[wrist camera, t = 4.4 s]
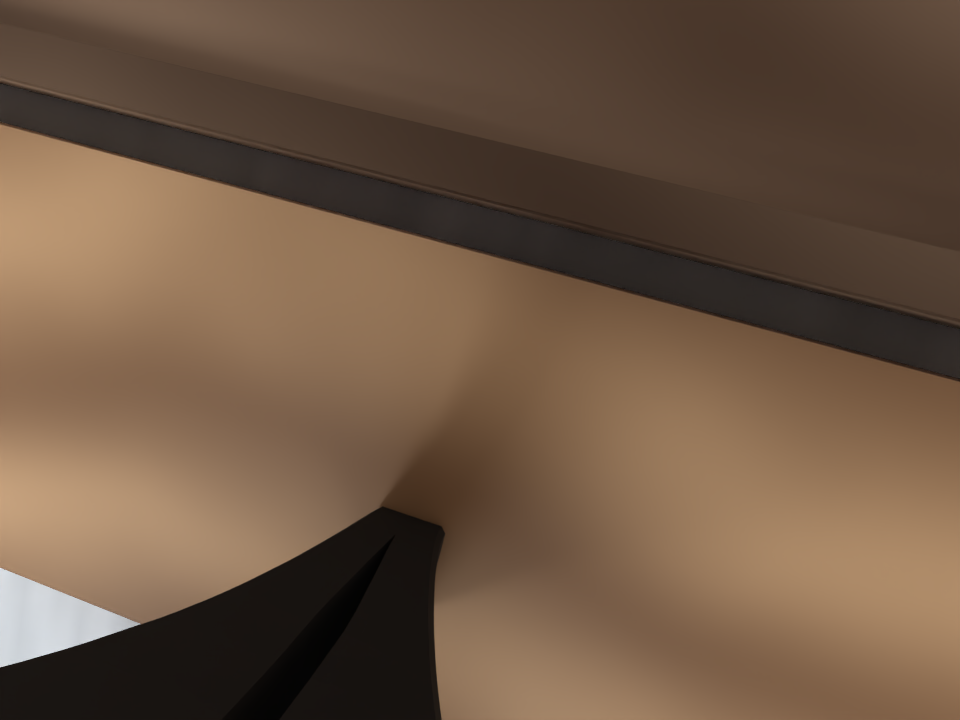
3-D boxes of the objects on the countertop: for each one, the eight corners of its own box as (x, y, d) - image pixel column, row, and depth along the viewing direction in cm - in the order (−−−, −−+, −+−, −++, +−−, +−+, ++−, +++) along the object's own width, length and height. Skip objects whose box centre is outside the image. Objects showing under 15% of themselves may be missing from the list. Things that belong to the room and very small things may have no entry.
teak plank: (907, 854, 10) (963, 952, 9) (-73, 480, 13) (-151, 507, 12) (1194, 441, 8) (1337, 483, 6) (-90, 97, 11) (-192, 73, 9)
